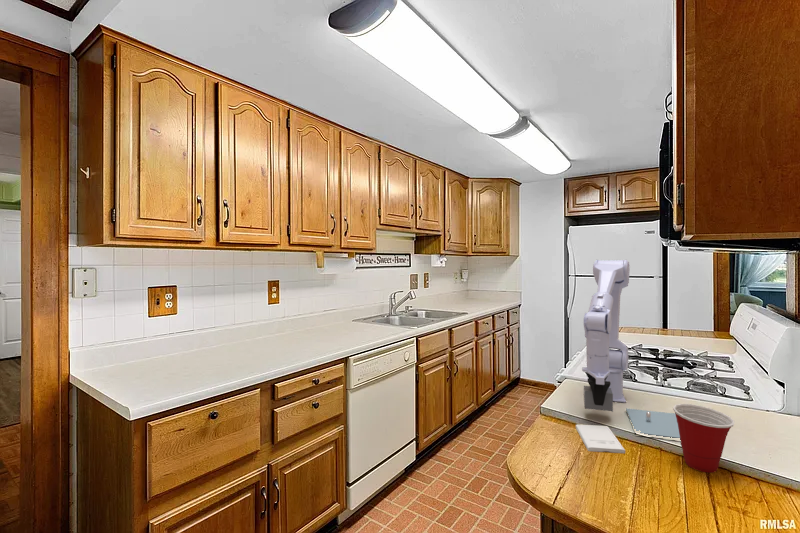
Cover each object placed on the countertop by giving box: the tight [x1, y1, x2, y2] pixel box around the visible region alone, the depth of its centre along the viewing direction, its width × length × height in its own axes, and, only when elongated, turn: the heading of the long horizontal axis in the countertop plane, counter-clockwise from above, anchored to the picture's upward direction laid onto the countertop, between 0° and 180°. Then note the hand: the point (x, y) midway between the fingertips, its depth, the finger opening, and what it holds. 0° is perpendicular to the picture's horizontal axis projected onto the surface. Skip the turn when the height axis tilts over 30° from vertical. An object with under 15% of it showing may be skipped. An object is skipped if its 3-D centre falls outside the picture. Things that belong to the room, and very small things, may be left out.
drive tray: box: [625, 407, 680, 438], centre depth 106 cm, size 16×18×4 cm
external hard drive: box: [575, 424, 626, 454], centre depth 101 cm, size 2×8×12 cm
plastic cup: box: [672, 403, 735, 474], centre depth 88 cm, size 11×11×12 cm
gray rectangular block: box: [583, 385, 614, 412], centre depth 113 cm, size 4×7×5 cm, turn 68°
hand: (597, 401), depth 113 cm, fingers closed on gray rectangular block, 4 cm apart
